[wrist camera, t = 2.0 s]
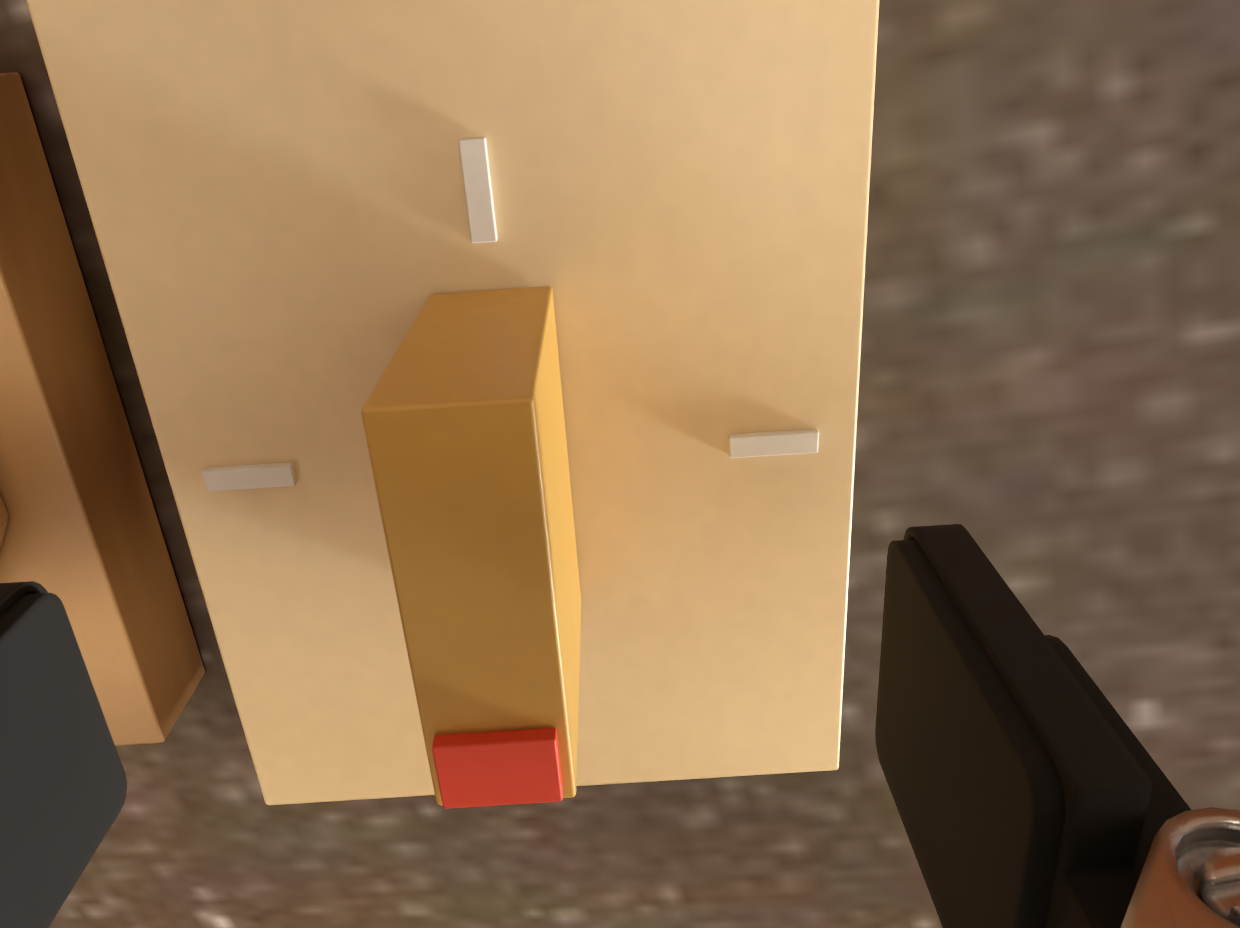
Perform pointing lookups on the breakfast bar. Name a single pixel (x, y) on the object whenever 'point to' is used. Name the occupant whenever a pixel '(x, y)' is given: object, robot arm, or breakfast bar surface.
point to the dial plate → (493, 260)
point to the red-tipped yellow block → (483, 543)
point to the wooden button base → (78, 460)
